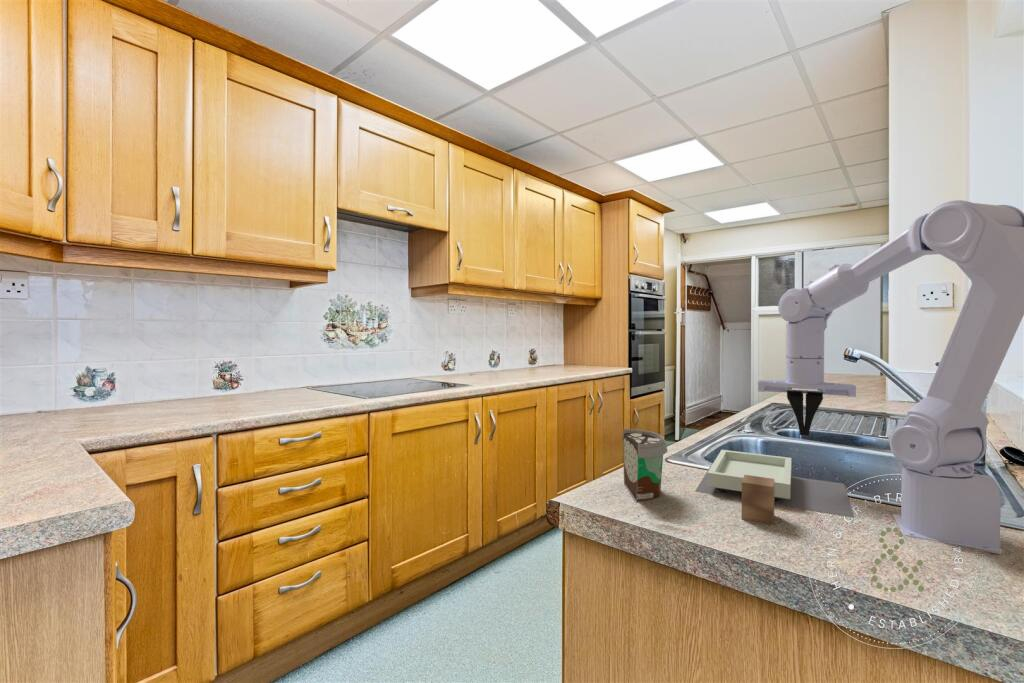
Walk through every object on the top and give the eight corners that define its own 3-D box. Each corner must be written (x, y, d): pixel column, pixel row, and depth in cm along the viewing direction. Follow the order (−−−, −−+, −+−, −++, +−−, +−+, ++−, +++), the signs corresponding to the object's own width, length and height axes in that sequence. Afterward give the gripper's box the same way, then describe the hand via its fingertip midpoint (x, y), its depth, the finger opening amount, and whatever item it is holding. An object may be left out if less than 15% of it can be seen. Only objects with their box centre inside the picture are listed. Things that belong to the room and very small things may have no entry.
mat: (843, 486, 82) (844, 483, 82) (853, 520, 68) (853, 517, 68) (710, 467, 94) (710, 465, 94) (695, 493, 79) (695, 491, 79)
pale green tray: (791, 476, 86) (791, 457, 86) (790, 506, 72) (790, 484, 72) (721, 466, 93) (721, 449, 93) (707, 492, 78) (707, 472, 78)
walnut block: (774, 518, 69) (774, 478, 69) (772, 528, 65) (773, 486, 65) (744, 513, 71) (744, 474, 71) (741, 522, 68) (741, 482, 67)
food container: (678, 507, 73) (677, 444, 73) (639, 507, 74) (638, 445, 73) (655, 481, 86) (655, 428, 86) (622, 481, 86) (622, 428, 86)
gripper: (853, 357, 81) (852, 434, 82) (759, 355, 89) (759, 425, 89) (857, 359, 75) (856, 442, 76) (757, 357, 83) (756, 433, 83)
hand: (804, 434), depth 82 cm, fingers closed
